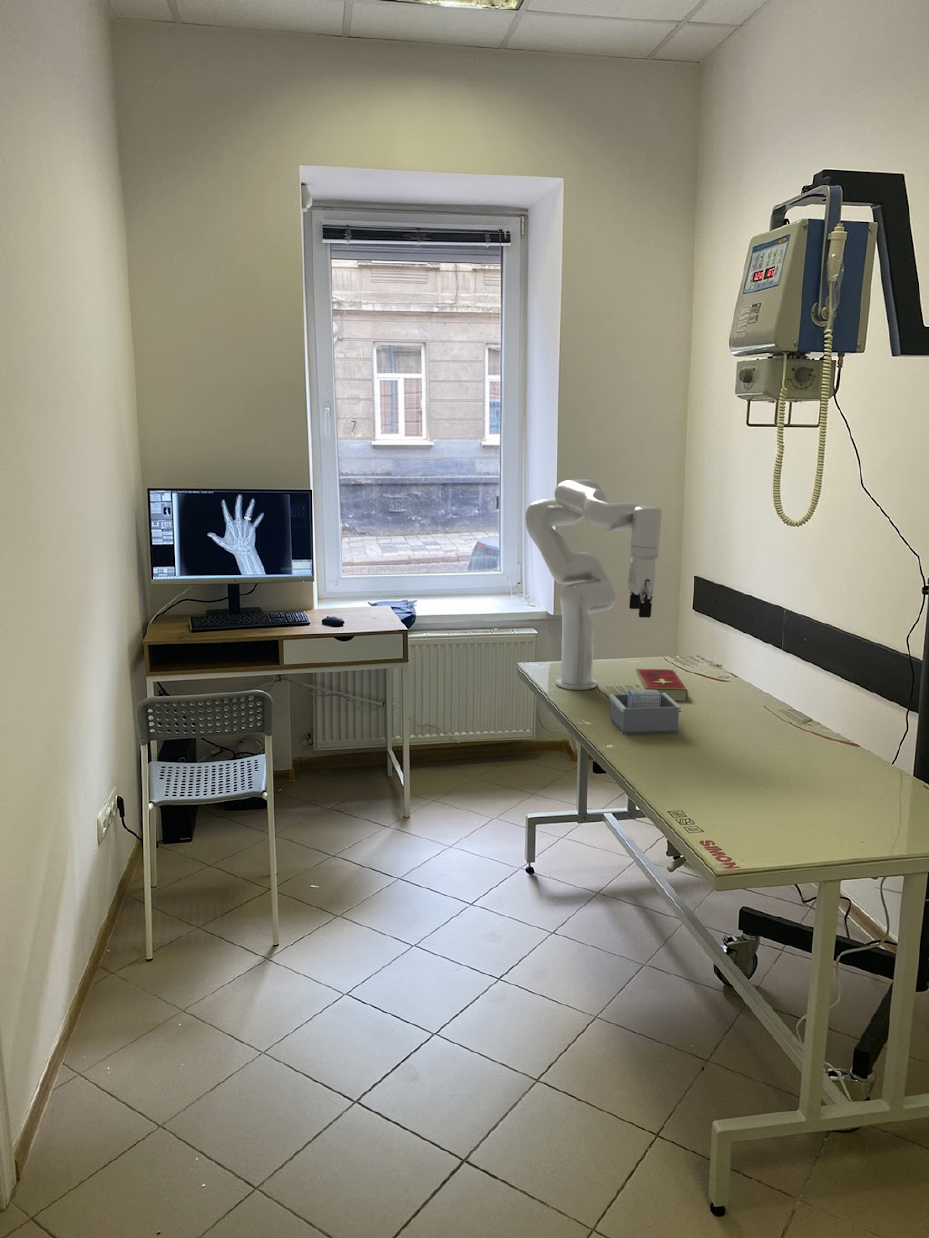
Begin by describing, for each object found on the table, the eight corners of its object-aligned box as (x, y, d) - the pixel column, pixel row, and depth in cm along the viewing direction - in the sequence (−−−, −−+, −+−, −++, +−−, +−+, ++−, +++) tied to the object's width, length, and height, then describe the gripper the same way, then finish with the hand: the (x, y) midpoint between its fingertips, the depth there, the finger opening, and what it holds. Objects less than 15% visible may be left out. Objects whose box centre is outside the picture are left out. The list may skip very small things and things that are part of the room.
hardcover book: (673, 681, 286) (674, 668, 285) (687, 702, 266) (688, 688, 265) (634, 680, 286) (635, 667, 285) (645, 701, 266) (646, 687, 265)
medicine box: (655, 720, 245) (657, 689, 243) (659, 725, 241) (661, 694, 239) (626, 720, 245) (627, 689, 243) (629, 725, 241) (631, 694, 239)
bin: (608, 719, 248) (609, 694, 247) (663, 717, 250) (665, 692, 248) (621, 734, 236) (622, 708, 234) (679, 733, 238) (680, 707, 236)
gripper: (622, 546, 256) (618, 605, 261) (639, 557, 240) (634, 620, 244) (648, 546, 257) (644, 605, 261) (667, 557, 240) (662, 620, 245)
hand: (639, 612), depth 253 cm, fingers open, 9 cm apart
